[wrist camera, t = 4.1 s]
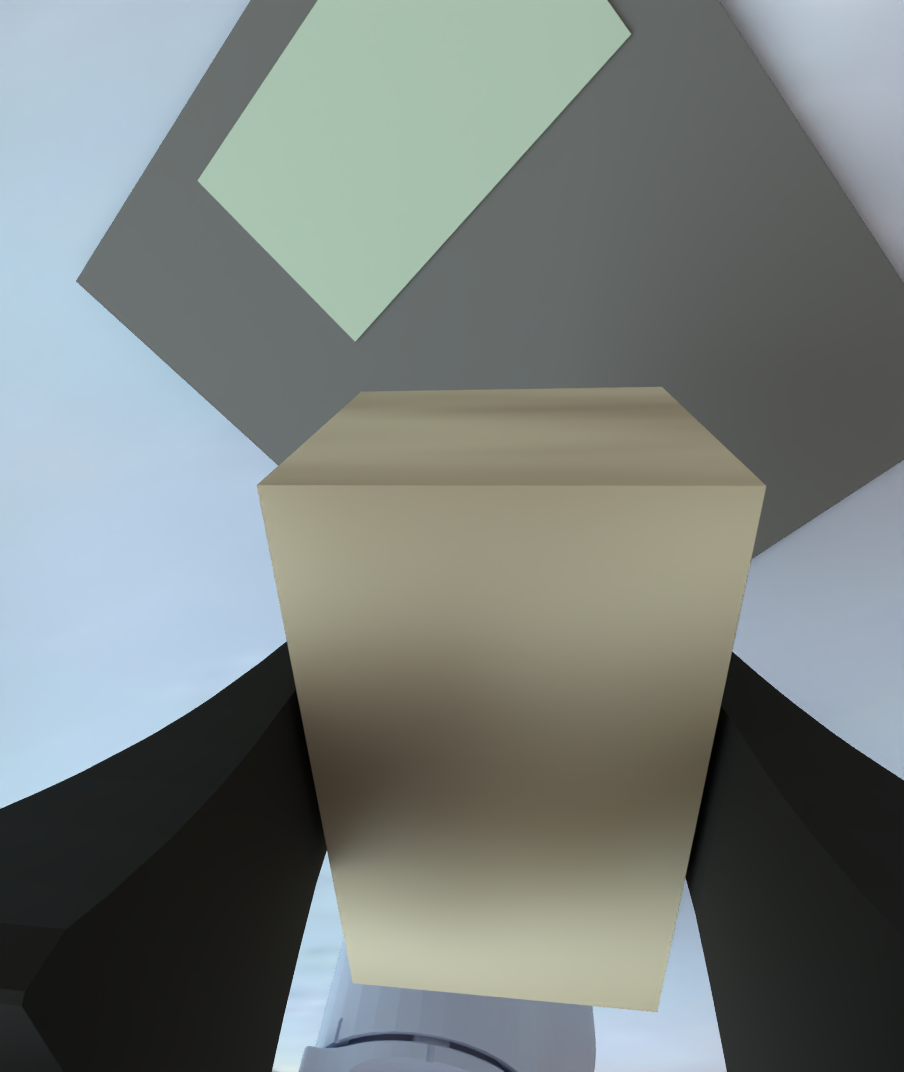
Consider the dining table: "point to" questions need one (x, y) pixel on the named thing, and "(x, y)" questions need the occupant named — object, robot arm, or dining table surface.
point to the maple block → (511, 676)
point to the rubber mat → (514, 231)
